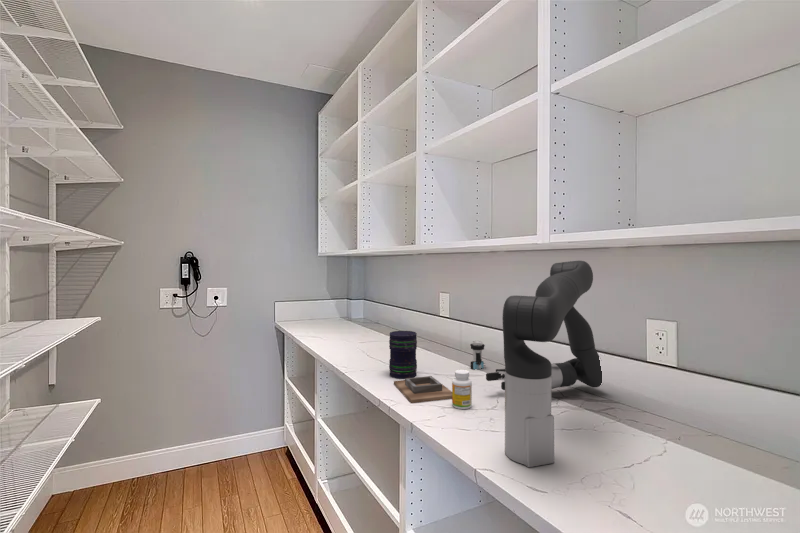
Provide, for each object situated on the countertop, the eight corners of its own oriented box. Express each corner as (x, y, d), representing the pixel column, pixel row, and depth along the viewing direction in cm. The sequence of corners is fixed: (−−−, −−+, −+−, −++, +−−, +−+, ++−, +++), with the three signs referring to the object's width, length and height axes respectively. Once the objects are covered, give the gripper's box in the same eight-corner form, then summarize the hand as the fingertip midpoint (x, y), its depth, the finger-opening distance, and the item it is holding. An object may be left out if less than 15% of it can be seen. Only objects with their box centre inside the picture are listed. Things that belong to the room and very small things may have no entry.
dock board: (456, 398, 115) (456, 388, 115) (411, 403, 111) (411, 392, 111) (433, 380, 132) (433, 371, 132) (393, 384, 128) (393, 375, 128)
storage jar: (383, 375, 138) (383, 333, 138) (401, 369, 145) (401, 329, 145) (404, 381, 131) (404, 337, 131) (422, 374, 139) (422, 332, 139)
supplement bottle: (456, 401, 112) (456, 367, 112) (474, 404, 110) (474, 370, 110) (449, 407, 108) (449, 372, 108) (467, 411, 105) (467, 375, 105)
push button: (480, 365, 151) (480, 339, 151) (490, 368, 146) (490, 342, 146) (467, 367, 148) (467, 341, 147) (476, 371, 143) (476, 344, 143)
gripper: (527, 358, 123) (481, 362, 118) (558, 370, 109) (507, 375, 105) (527, 382, 123) (481, 386, 118) (558, 397, 110) (507, 403, 105)
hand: (494, 381), depth 112 cm, fingers open, 8 cm apart
